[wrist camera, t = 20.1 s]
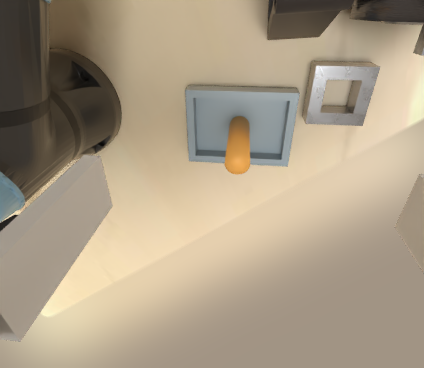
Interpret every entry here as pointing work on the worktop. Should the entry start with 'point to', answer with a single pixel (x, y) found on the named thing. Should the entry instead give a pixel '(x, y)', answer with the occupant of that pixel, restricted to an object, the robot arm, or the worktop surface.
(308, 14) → the phone stand
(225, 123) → the tray
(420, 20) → the caster wheel
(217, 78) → the worktop surface
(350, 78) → the pin socket
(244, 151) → the pin
